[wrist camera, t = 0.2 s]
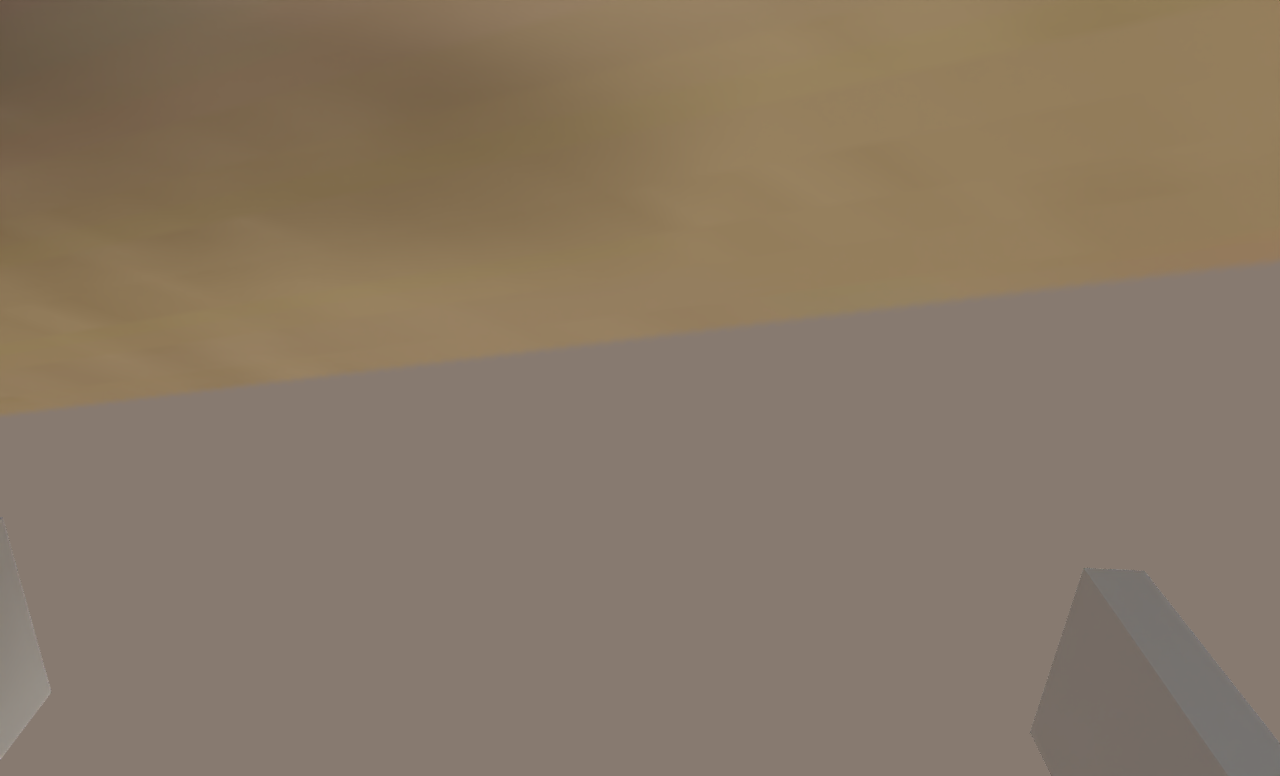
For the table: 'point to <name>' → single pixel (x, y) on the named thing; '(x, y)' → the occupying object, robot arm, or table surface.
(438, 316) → the table surface
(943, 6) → the table surface
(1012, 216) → the table surface
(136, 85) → the table surface
